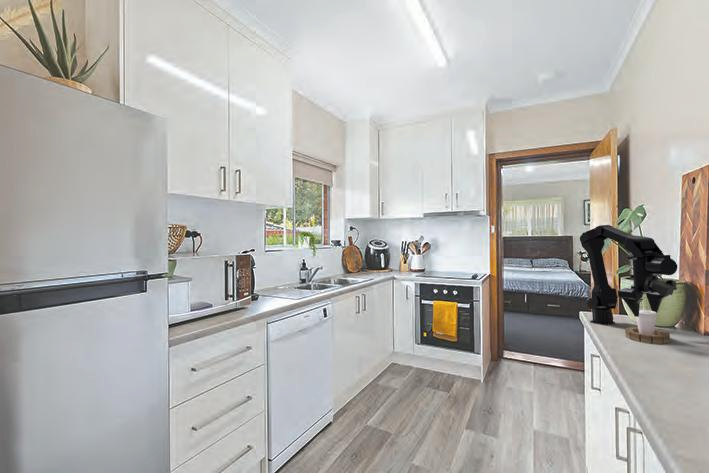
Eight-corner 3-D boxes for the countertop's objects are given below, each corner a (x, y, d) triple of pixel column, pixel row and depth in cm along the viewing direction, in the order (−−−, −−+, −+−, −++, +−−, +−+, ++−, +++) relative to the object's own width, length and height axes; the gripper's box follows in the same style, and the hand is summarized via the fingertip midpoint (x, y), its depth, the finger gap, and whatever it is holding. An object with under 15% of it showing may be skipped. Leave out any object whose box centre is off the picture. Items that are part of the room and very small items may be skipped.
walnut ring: (617, 336, 125) (617, 329, 125) (640, 331, 128) (640, 325, 128) (654, 345, 113) (653, 338, 113) (678, 340, 116) (678, 333, 116)
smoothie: (631, 337, 122) (629, 299, 122) (641, 334, 125) (638, 297, 125) (652, 342, 116) (650, 302, 116) (662, 338, 119) (660, 300, 119)
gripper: (649, 276, 110) (652, 323, 110) (688, 271, 115) (691, 316, 115) (615, 273, 121) (618, 316, 121) (651, 269, 126) (654, 310, 126)
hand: (645, 315), depth 121 cm, fingers open, 9 cm apart
